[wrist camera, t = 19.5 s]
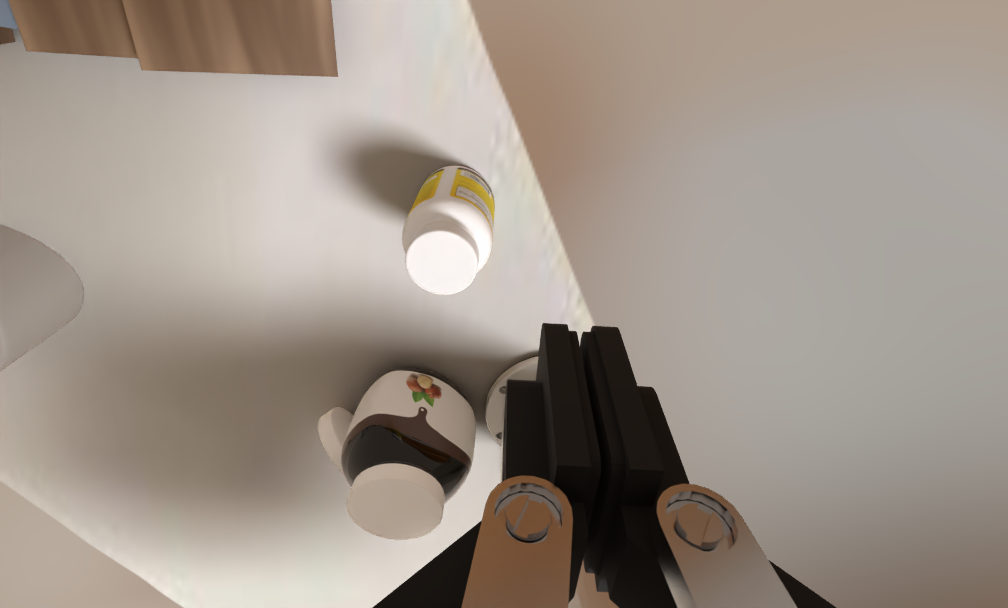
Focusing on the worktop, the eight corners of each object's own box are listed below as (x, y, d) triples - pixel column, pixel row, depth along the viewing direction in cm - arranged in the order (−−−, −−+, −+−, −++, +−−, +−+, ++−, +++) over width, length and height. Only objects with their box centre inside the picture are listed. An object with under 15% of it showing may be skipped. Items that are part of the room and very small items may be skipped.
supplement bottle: (424, 237, 37) (398, 306, 28) (415, 164, 34) (383, 217, 26) (496, 236, 37) (492, 305, 28) (494, 162, 34) (487, 215, 26)
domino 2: (328, -24, 27) (109, -44, 24) (337, 76, 30) (141, 70, 26) (327, -24, 28) (122, -42, 25) (336, 72, 31) (151, 65, 28)
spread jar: (490, 397, 45) (483, 509, 35) (427, 466, 50) (406, 582, 40) (371, 334, 42) (326, 438, 32) (317, 415, 46) (263, 527, 36)
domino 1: (220, -38, 27) (-15, -66, 24) (236, 64, 29) (26, 50, 26) (225, -37, 28) (5, -63, 25) (241, 60, 31) (43, 46, 28)
